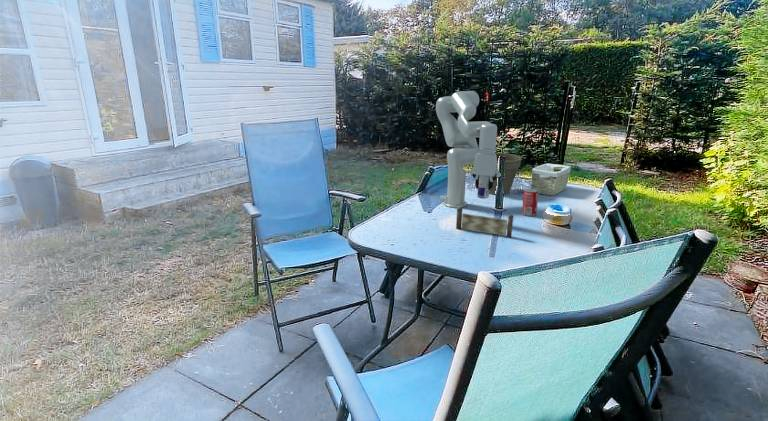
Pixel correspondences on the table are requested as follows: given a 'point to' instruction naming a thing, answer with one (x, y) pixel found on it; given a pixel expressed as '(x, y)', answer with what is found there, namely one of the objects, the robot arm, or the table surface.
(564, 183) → the storage basket
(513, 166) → the plant pot
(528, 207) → the soda can
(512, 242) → the table surface
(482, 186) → the energy drink
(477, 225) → the gate
